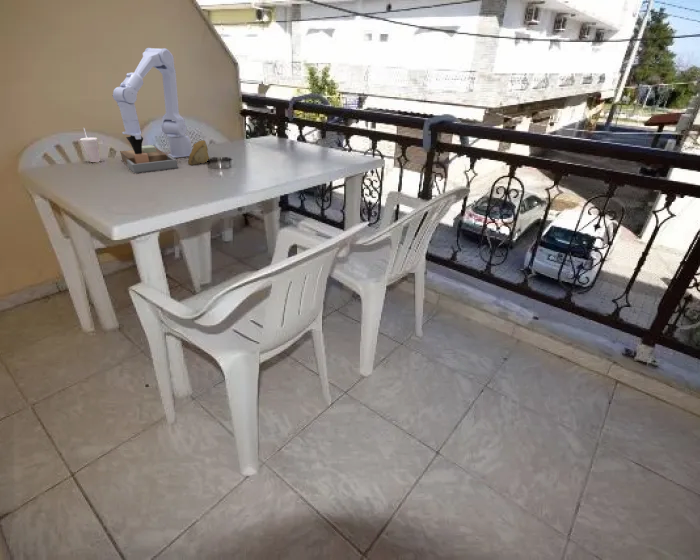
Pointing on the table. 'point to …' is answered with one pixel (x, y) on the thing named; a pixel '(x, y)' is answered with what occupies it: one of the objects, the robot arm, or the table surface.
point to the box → (153, 165)
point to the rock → (198, 153)
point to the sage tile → (149, 149)
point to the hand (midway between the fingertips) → (138, 154)
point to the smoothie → (91, 147)
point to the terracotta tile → (141, 158)
